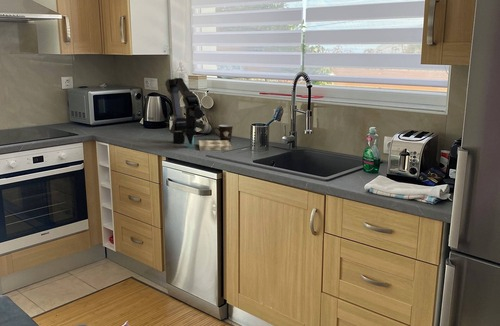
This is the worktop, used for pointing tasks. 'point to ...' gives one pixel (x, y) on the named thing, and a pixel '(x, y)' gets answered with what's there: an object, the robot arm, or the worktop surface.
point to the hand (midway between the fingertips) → (190, 143)
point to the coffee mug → (225, 132)
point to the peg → (191, 144)
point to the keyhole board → (214, 145)
